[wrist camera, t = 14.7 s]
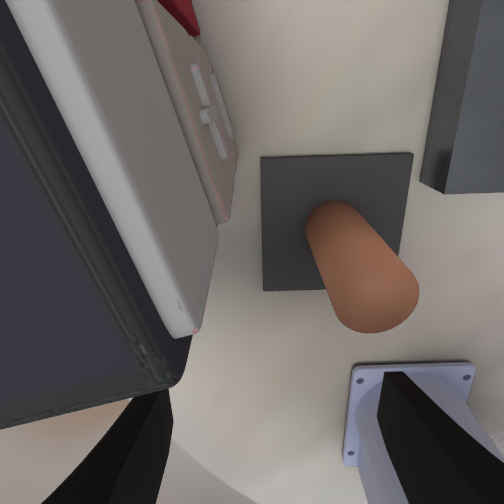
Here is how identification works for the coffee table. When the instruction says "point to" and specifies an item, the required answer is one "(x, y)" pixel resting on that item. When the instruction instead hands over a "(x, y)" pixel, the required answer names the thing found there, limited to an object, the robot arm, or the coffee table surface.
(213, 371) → the coffee table surface
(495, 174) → the chuck plate
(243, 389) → the coffee table surface
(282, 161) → the mat
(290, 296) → the coffee table surface
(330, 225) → the cylinder
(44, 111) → the red and grey box
